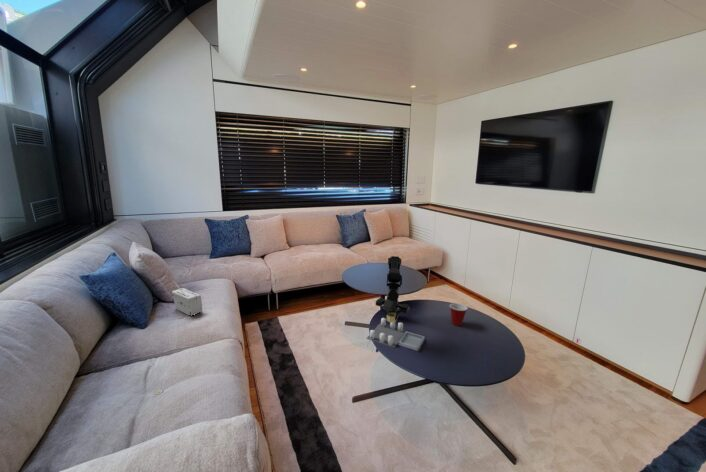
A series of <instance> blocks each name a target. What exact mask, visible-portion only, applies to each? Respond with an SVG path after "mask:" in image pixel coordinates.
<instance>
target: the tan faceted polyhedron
mask: <svg viewBox="0 0 706 472" xmlns="http://www.w3.org/2000/svg"><path fill="white" fill-rule="evenodd" d="M395 318H396V314H395V313H388V314H387V317H386V322H388V323H390V322H393V323H395V324H396V322H397V320H395Z"/></svg>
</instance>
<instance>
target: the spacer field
mask: <svg viewBox="0 0 706 472" xmlns="http://www.w3.org/2000/svg"><path fill="white" fill-rule="evenodd" d="M406 331H407V330H406V329H404V323H403V322H398V323H397V327H396V322H395V323H393V322H389V325H388V324H387V317H382V318H381V319H380V323H379V324H377V326H376V327H375V328H374V329H371V330H369V335H368V336H367V337H366V338H365V339H366V340H368V341H372V342H376V343H379V344H382V345H385V346H389V347H391V348H395V347H396V346H397V345H398V343H399V341H400V339H401V338H402V336H403V335H404V334H405V332H406ZM371 337H372V338H371ZM372 339H373V340H372Z"/></svg>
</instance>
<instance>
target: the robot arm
mask: <svg viewBox="0 0 706 472" xmlns="http://www.w3.org/2000/svg"><path fill="white" fill-rule="evenodd" d="M387 266H388V273H387V276H386V287H388V289H387V296H386V298H382V297H379V298H378V299H376V301H375V306H376V307H380V309H382V310H383V311H384V315H385V317H384V318H387V314H388V313H395V314H396V318H395V320H396V321H397V320H398V318H399V316H400V314H402V313H403V314H408V312H409V311H410V309H411V306H410V305H409V304H407V303H402V304H401V303H400V300H399V297H400V294H399V291H400V289H399V288H401V287H402V285H403V276H402V274H401V271H400V269H401V266H402V258H401V257H400V256H398V255H397V256H395V255H393V256H390V257H388V258H387Z"/></svg>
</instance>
